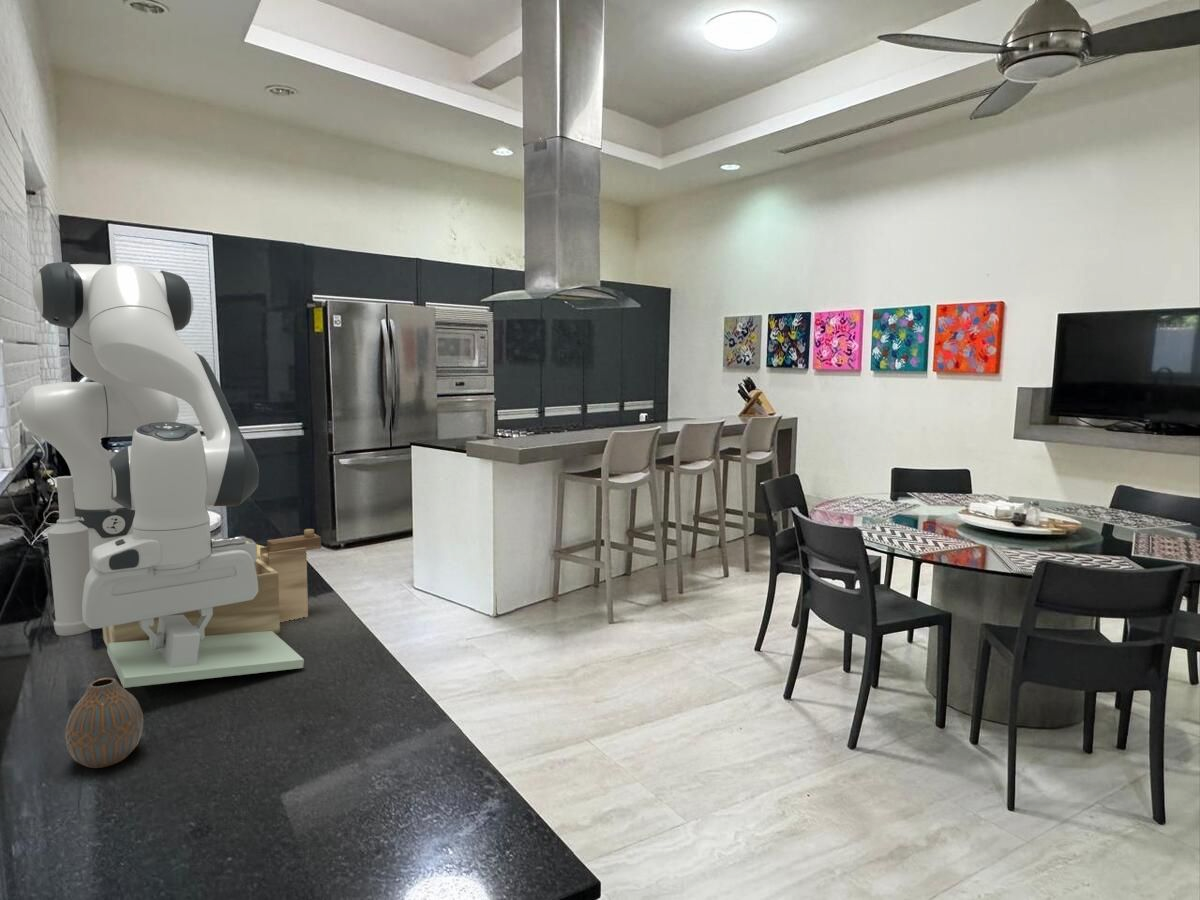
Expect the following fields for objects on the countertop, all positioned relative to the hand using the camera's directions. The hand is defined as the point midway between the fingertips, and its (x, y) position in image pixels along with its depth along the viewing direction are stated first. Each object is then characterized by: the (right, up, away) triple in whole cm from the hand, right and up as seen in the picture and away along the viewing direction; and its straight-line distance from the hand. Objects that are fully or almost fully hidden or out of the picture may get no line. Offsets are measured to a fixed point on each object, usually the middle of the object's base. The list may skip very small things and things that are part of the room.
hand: (177, 643), depth 94 cm
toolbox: (-5, -3, +18) cm, 19 cm away
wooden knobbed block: (+5, +9, +25) cm, 27 cm away
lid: (+3, -3, +3) cm, 5 cm away
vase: (+3, -8, -18) cm, 20 cm away
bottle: (-27, -3, +17) cm, 32 cm away
